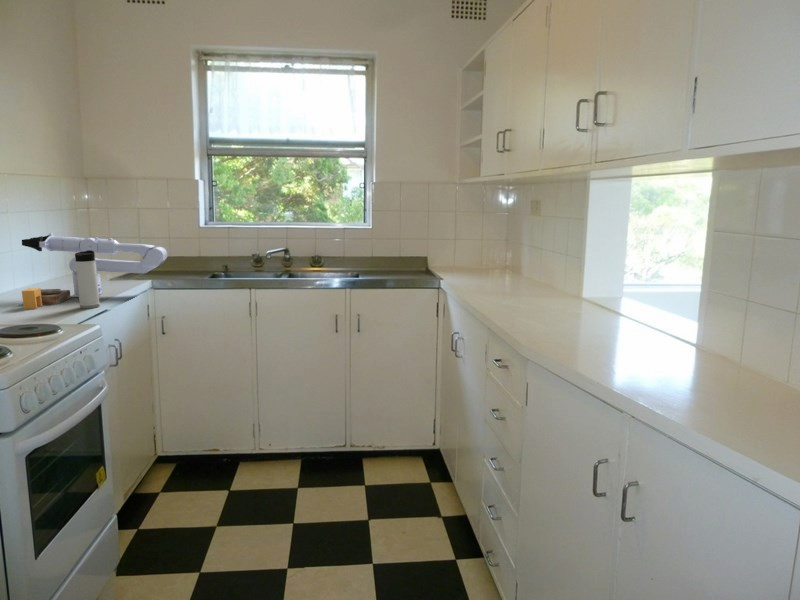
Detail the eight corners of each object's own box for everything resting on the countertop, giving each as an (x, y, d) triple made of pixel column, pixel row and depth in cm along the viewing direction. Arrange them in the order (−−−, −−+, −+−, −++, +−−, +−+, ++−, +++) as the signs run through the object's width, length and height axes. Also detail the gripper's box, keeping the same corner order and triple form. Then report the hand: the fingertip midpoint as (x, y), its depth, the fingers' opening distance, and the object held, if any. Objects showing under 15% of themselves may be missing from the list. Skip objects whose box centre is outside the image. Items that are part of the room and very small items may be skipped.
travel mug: (103, 305, 221) (98, 250, 217) (93, 308, 214) (87, 252, 211) (87, 305, 221) (82, 250, 218) (76, 308, 215) (70, 252, 211)
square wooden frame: (70, 297, 237) (69, 285, 236) (56, 304, 223) (55, 291, 222) (39, 298, 235) (38, 286, 234) (24, 305, 221) (22, 292, 221)
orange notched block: (42, 305, 220) (40, 288, 219) (36, 308, 215) (34, 290, 214) (30, 306, 220) (28, 288, 219) (23, 309, 214) (21, 290, 213)
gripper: (71, 232, 243) (34, 229, 241) (57, 235, 229) (17, 232, 227) (71, 249, 244) (34, 247, 242) (57, 253, 230) (18, 251, 228)
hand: (26, 241), depth 234 cm, fingers open, 7 cm apart
